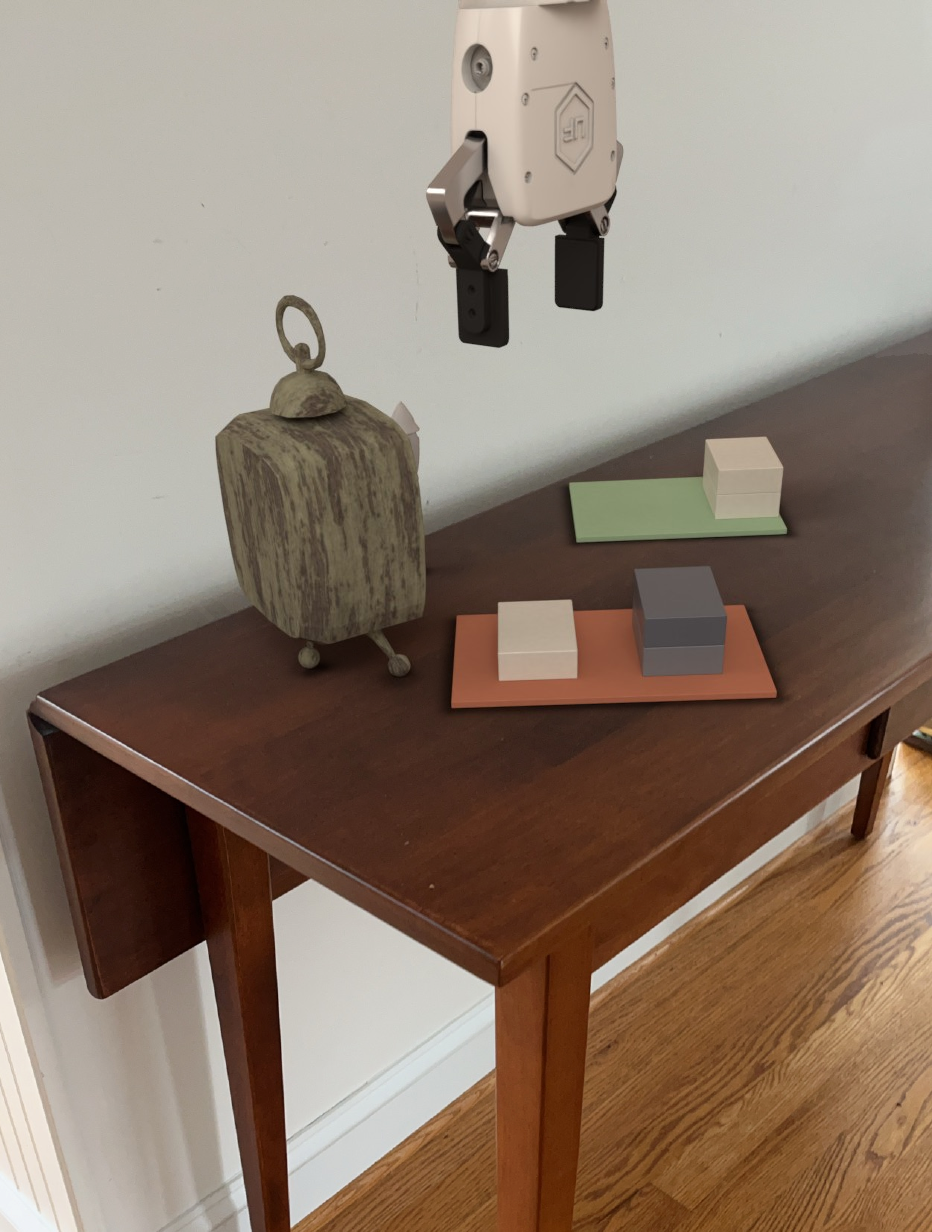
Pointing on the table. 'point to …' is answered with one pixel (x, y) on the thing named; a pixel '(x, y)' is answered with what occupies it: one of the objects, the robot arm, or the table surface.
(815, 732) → the table surface
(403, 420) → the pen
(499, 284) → the robot arm
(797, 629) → the table surface
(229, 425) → the tabletop clock
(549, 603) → the cream flat block
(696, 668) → the grey blocks
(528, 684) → the terracotta rectangular mat
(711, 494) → the beige lidded box
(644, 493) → the green mat
